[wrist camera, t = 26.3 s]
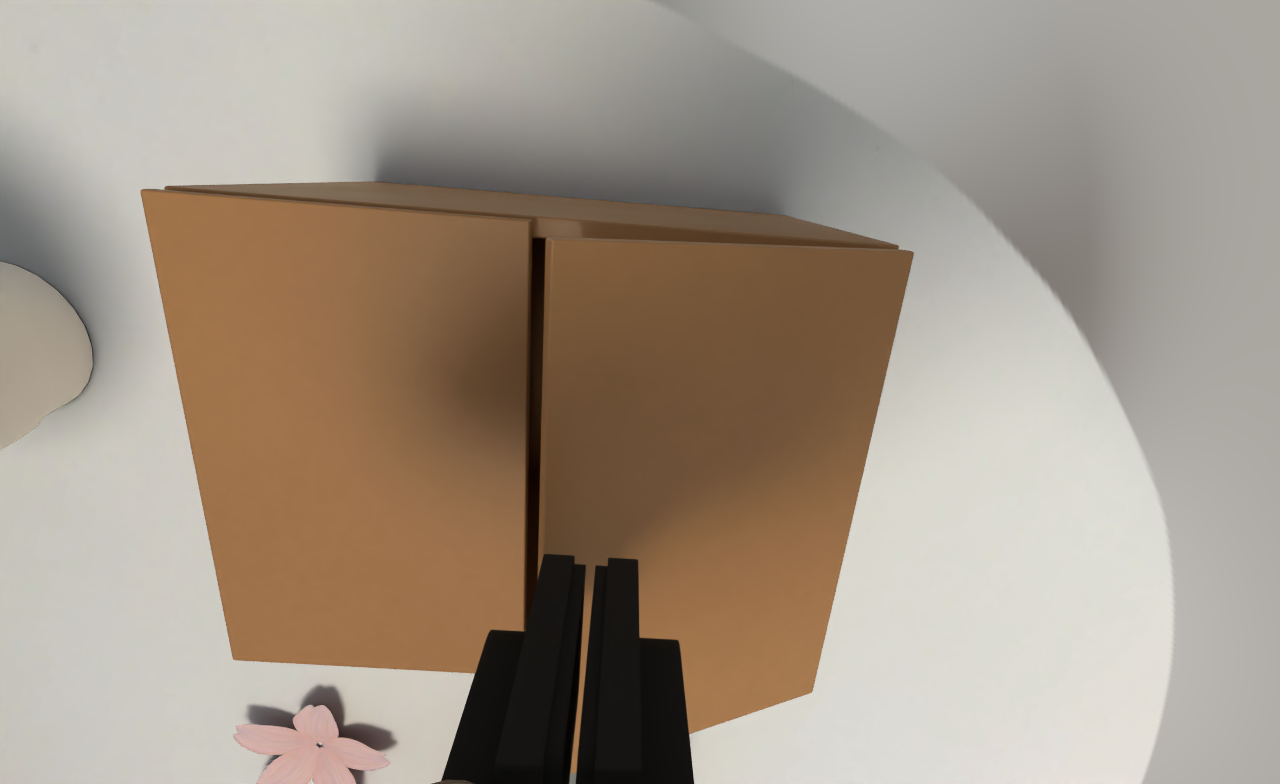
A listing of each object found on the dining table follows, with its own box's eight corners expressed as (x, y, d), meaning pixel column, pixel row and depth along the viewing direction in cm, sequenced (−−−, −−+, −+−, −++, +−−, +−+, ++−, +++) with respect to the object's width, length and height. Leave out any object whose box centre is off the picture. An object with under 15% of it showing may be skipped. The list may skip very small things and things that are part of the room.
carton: (784, 215, 25) (914, 249, 13) (742, 489, 29) (811, 693, 18) (373, 181, 24) (134, 186, 13) (393, 466, 29) (230, 661, 17)
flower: (195, 746, 35) (175, 770, 33) (287, 647, 32) (271, 669, 31) (337, 824, 37) (325, 851, 36) (433, 738, 35) (424, 762, 33)
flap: (901, 249, 14) (915, 251, 13) (804, 682, 18) (812, 692, 18) (544, 236, 10) (551, 239, 10) (532, 772, 15) (536, 786, 14)
